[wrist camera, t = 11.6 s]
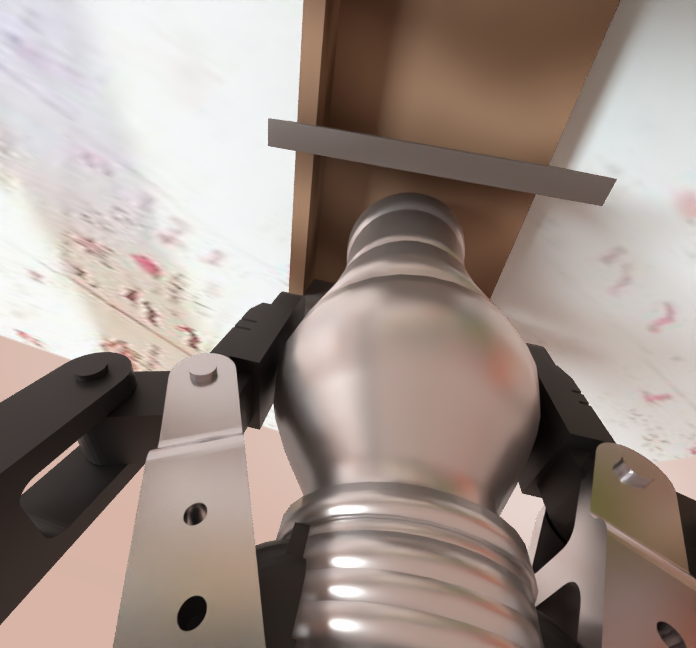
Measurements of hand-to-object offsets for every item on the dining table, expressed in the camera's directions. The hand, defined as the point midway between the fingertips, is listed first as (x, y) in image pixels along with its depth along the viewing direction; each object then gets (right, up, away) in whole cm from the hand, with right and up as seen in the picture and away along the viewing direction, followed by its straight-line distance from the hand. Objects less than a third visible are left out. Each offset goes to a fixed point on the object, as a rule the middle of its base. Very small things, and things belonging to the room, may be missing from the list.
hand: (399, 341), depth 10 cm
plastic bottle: (+2, +6, +10) cm, 12 cm away
